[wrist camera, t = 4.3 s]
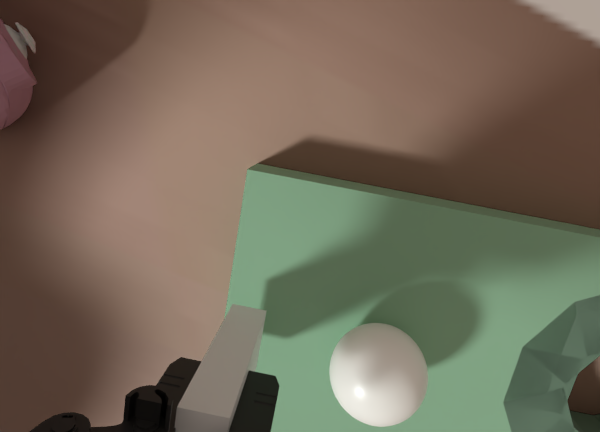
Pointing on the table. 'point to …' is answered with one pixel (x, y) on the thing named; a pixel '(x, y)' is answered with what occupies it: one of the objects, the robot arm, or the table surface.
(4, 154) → the table surface
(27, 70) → the video game controller
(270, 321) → the mat
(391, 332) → the ball
